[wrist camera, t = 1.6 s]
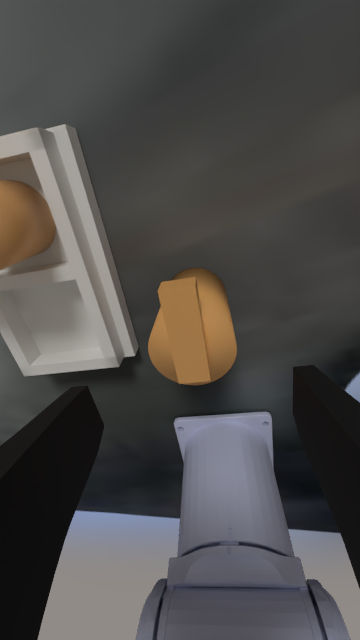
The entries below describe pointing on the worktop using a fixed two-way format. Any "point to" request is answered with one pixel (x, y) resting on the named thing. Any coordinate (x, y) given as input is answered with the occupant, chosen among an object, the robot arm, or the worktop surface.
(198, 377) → the peg
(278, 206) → the worktop surface
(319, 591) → the robot arm
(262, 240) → the worktop surface
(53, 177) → the housing
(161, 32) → the worktop surface
